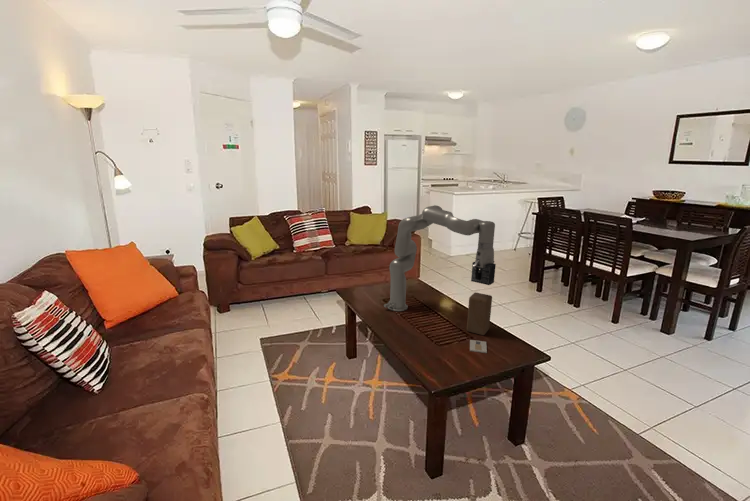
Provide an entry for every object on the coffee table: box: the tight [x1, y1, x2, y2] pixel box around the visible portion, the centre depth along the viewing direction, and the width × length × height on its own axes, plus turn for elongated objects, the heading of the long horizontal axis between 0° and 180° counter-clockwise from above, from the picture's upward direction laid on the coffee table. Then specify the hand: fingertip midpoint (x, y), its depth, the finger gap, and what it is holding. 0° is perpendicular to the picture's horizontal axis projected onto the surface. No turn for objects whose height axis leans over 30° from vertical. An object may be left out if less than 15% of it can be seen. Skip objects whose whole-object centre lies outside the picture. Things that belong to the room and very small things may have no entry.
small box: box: [470, 261, 497, 286], centre depth 202 cm, size 11×6×10 cm, turn 51°
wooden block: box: [466, 292, 493, 336], centre depth 208 cm, size 10×10×20 cm
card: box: [469, 339, 488, 354], centre depth 192 cm, size 8×11×1 cm
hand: (482, 277), depth 203 cm, fingers closed on small box, 7 cm apart
